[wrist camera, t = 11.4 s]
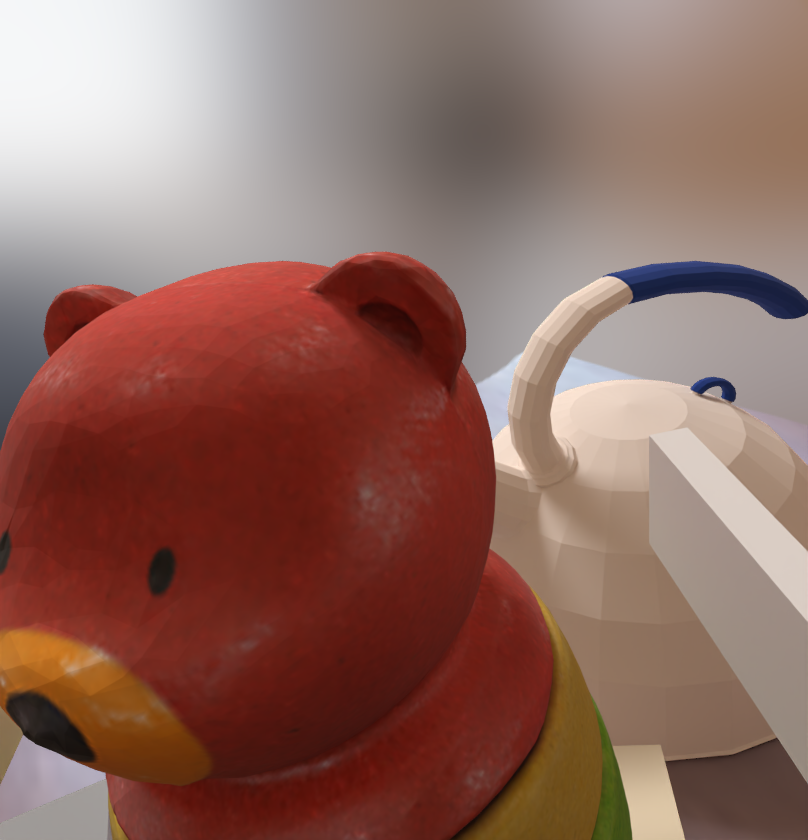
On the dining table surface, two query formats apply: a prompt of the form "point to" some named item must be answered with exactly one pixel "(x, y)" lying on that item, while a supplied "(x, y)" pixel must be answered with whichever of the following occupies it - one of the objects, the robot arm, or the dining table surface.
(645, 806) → the birch block
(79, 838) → the stoneware block
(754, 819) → the dining table surface
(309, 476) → the stacking bear
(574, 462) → the kettle
